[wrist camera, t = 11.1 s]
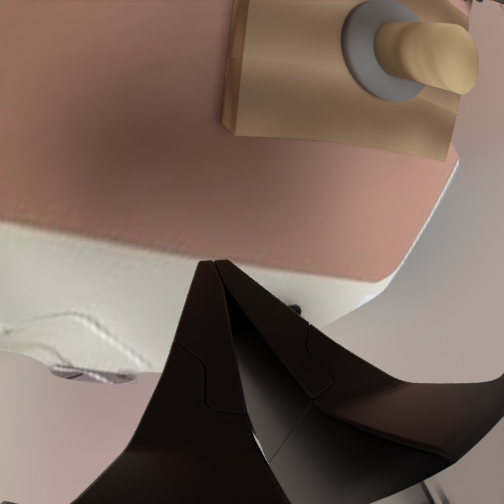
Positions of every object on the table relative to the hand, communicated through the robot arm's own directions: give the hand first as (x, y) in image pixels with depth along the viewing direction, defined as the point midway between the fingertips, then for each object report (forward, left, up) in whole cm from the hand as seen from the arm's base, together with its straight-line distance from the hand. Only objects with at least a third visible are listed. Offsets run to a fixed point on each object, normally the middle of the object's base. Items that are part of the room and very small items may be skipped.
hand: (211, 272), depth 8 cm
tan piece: (+9, -12, -12) cm, 19 cm away
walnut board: (+9, -12, -13) cm, 20 cm away
